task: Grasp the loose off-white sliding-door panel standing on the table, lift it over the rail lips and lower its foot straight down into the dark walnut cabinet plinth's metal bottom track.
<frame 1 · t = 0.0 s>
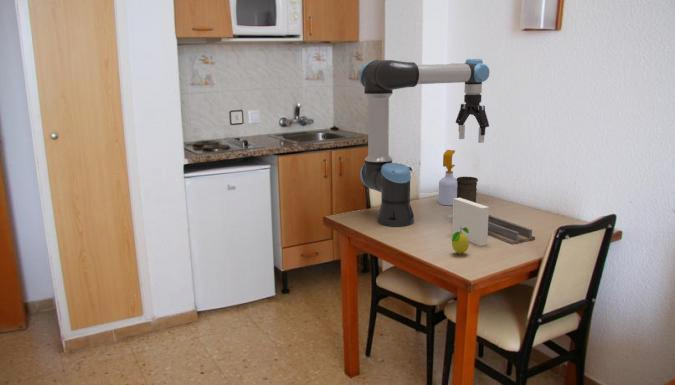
hand: (471, 140, 256), 28 cm above the table, tool pointing down, fingers open, 13 cm apart
lemon: (460, 254, 190), on the table
soap bottle: (448, 203, 257), on the table
track plinth: (500, 233, 212), on the table
container: (465, 221, 228), on the table
door panel: (469, 239, 205), on the table
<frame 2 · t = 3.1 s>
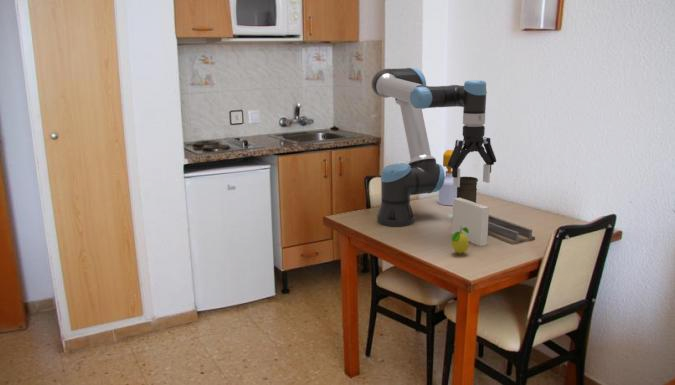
hand: (471, 184, 201), 21 cm above the table, tool pointing down, fingers open, 13 cm apart
nothing on the table moved.
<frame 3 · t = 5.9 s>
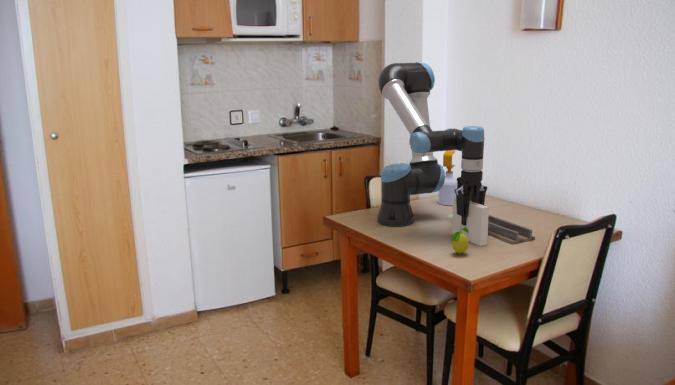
hand: (469, 232, 205), 3 cm above the table, tool pointing down, fingers closed on door panel, 3 cm apart
door panel: (469, 239, 205), on the table, touching gripper
everything else where it was.
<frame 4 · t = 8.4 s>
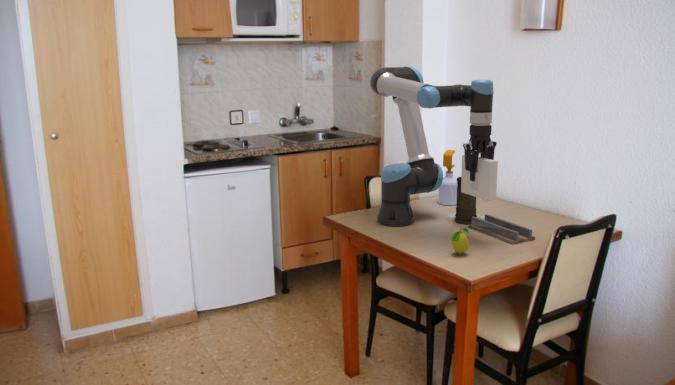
hand: (478, 188, 202), 19 cm above the table, tool pointing down, fingers closed on door panel, 3 cm apart
door panel: (477, 196, 203), point 16 cm above the table, touching gripper
everything else where it was.
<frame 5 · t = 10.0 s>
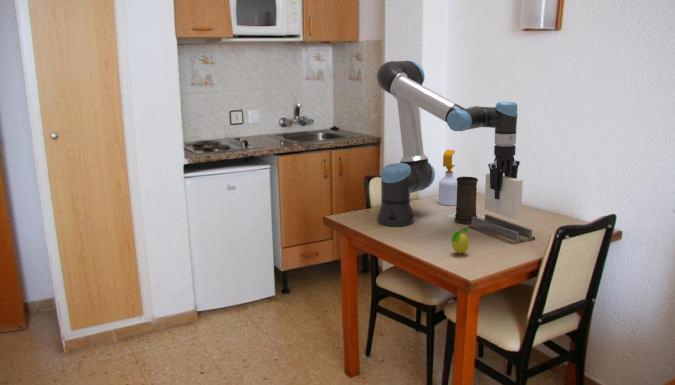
hand: (502, 206, 209), 10 cm above the table, tool pointing down, fingers closed on door panel, 3 cm apart
door panel: (502, 213, 210), point 8 cm above the table, touching gripper
everything else where it was.
when the fingers open (6 cm above the table, at t = 11.1 s): door panel drops 2 cm, resting on track plinth.
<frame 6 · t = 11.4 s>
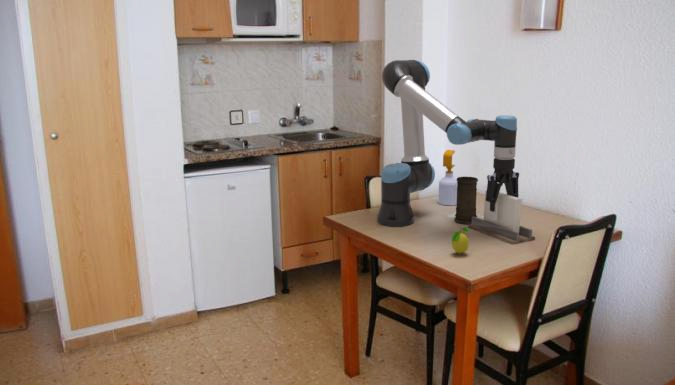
hand: (501, 218, 210), 6 cm above the table, tool pointing down, fingers open, 7 cm apart
door panel: (500, 230, 211), point 1 cm above the table, touching track plinth
everything else where it was.
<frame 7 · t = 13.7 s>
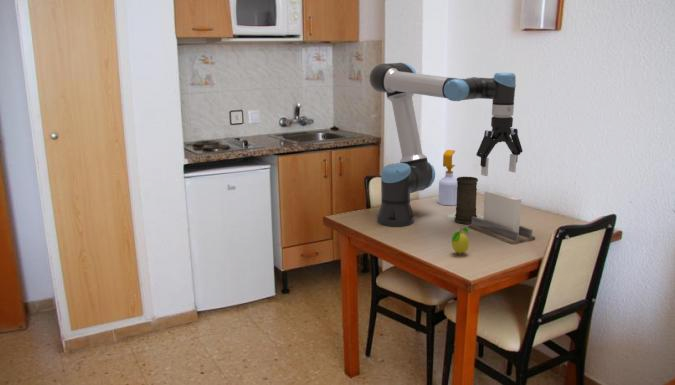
hand: (498, 173, 207), 23 cm above the table, tool pointing down, fingers open, 13 cm apart
nothing on the table moved.
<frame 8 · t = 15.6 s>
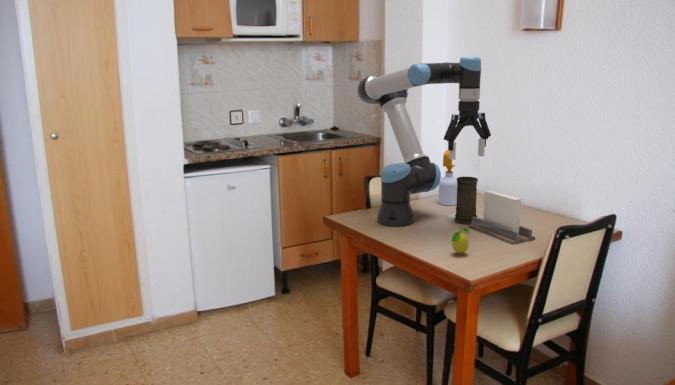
hand: (466, 157, 209), 29 cm above the table, tool pointing down, fingers open, 13 cm apart
nothing on the table moved.
at the end: door panel inside the target area on the track plinth (0.0 cm from its centre), point 1.0 cm above the track plinth's base; door panel tilted 0°; the gripper is holding nothing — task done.
